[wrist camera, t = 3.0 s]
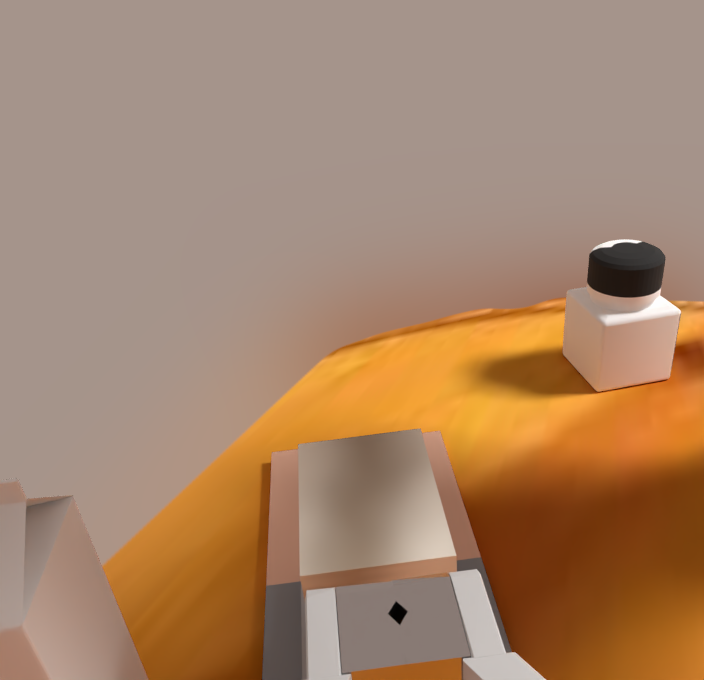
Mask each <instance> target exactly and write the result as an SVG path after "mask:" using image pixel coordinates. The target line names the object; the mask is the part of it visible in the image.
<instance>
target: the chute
mask: <svg viewBox="0 0 704 680" xmlns="http://www.w3.org/2000/svg"><path fill="white" fill-rule="evenodd" d="M422 436H423V439H424V443H425V446H426V450H427V453H428V457H429V460H430V464H431V468H432V471H433V475H434V478H435V482H436V485H437V489H438V492H439V496H440V499H441V503H442V506H443V510H444V513H445V517H446V520H447V524H448V528H449V531H450V535H451V538H452V542H453V545H454V549H455V552H456V558H457V572H458V571H466V570H474V569H477V570H478V571H479V572H480V574H481V577H482V580H483V583H484V586H485V589H486V592H487V595H488V598H489V602H490V605H491V608H492V611H493V614H494V617H495V620H496V623H497V626H498V629H499V632H500V636H501V639H502V642H503V645H504V648H505V651H506V653H510V652H512V651H511V648H510V645H509V642H508V639H507V635H506V632H505V629H504V626H503V623H502V620H501V617H500V614H499V611H498V608H497V605H496V602H495V599H494V595H493V592H492V589H491V586H490V583H489V580H488V577H487V574H486V571H485V568H484V565H483V562H482V559H481V555H480V552H479V549H478V546H477V543H476V540H475V537H474V534H473V531H472V528H471V525H470V522H469V519H468V515H467V512H466V509H465V506H464V503H463V500H462V497H461V494H460V491H459V488H458V485H457V482H456V479H455V475H454V472H453V469H452V466H451V463H450V460H449V457H448V454H447V451H446V448H445V445H444V442H443V439H442V435H441V432H440V431H435V432H427V433H422ZM305 679H307V668H306V621H305V600H304V595H303V590H302V585H301V580H300V556H299V478H298V449H295V450H287V451H279V452H272V460H271V484H270V507H269V531H268V554H267V578H266V601H265V625H264V648H263V672H262V680H305Z"/></svg>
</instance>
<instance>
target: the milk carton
mask: <svg viewBox="0 0 704 680" xmlns="http://www.w3.org/2000/svg"><path fill="white" fill-rule="evenodd" d="M0 680H149V679H148V677H147V675H146V672H145V670H144V667H143V665H142V662H141V660H140V658H139V655H138V653H137V650H136V648H135V645H134V643H133V641H132V638H131V636H130V633H129V631H128V628H127V626H126V624H125V621H124V619H123V616H122V614H121V611H120V609H119V607H118V604H117V602H116V599H115V597H114V594H113V592H112V590H111V587H110V585H109V582H108V580H107V577H106V575H105V573H104V570H103V568H102V565H101V563H100V560H99V558H98V556H97V553H96V551H95V548H94V546H93V544H92V541H91V539H90V536H89V534H88V531H87V529H86V527H85V524H84V522H83V519H82V517H81V514H80V512H79V509H78V507H77V505H76V502H75V500H74V497H73V495H68V496H56V497H43V498H32V499H27V498H26V495H25V493H24V491H23V489H22V487H21V484H20V482H19V480H18V479H17V478H14V479H6V480H0Z"/></svg>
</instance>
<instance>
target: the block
mask: <svg viewBox="0 0 704 680" xmlns="http://www.w3.org/2000/svg"><path fill="white" fill-rule="evenodd" d="M298 478H299V556H300V580H301V585H302V590H303V595H304V600H305V597H306V590H315V589H324V588H332V587H335V588H336V587H340V586H350V585H360V584H370V583H380V582H389V581H392V580H397V579H404V578H411V577H418V576H425V575H432V574H439V573H446V572H447V573H450V572H457V558H456V552H455V549H454V545H453V542H452V538H451V535H450V531H449V528H448V524H447V520H446V517H445V513H444V510H443V506H442V503H441V499H440V496H439V492H438V489H437V485H436V482H435V478H434V475H433V471H432V468H431V464H430V460H429V457H428V453H427V450H426V446H425V443H424V439H423V436H422V432H421V429H413V430H405V431H398V432H390V433H382V434H374V435H367V436H359V437H351V438H343V439H336V440H328V441H320V442H312V443H305V444H298Z"/></svg>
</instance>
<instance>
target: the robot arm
mask: <svg viewBox="0 0 704 680" xmlns="http://www.w3.org/2000/svg"><path fill="white" fill-rule="evenodd" d="M305 621H306V668H307V679H305V680H546V679H545V678H544V677H542V676H541V675H540V674H539V673H538V672H537V671H536V670H535V669H533V668H532V667H531V666H530V665H529V664H528V663H527V662H526V661H524V660H523V659H522V658H521V657H520V656H519V655H518V654H517V653H515V652H510V653H506V651H505V648H504V645H503V642H502V639H501V636H500V632H499V629H498V626H497V623H496V620H495V617H494V614H493V611H492V608H491V605H490V602H489V598H488V595H487V592H486V589H485V586H484V583H483V580H482V577H481V574H480V572H479V571H478V570H477V569H474V570H466V571H458V572H450V573H447V572H446V573H439V574H432V575H425V576H418V577H411V578H404V579H397V580H392V581H389V582H380V583H370V584H360V585H350V586H340V587H336V588H335V587H332V588H324V589H315V590H306V597H305Z"/></svg>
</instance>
